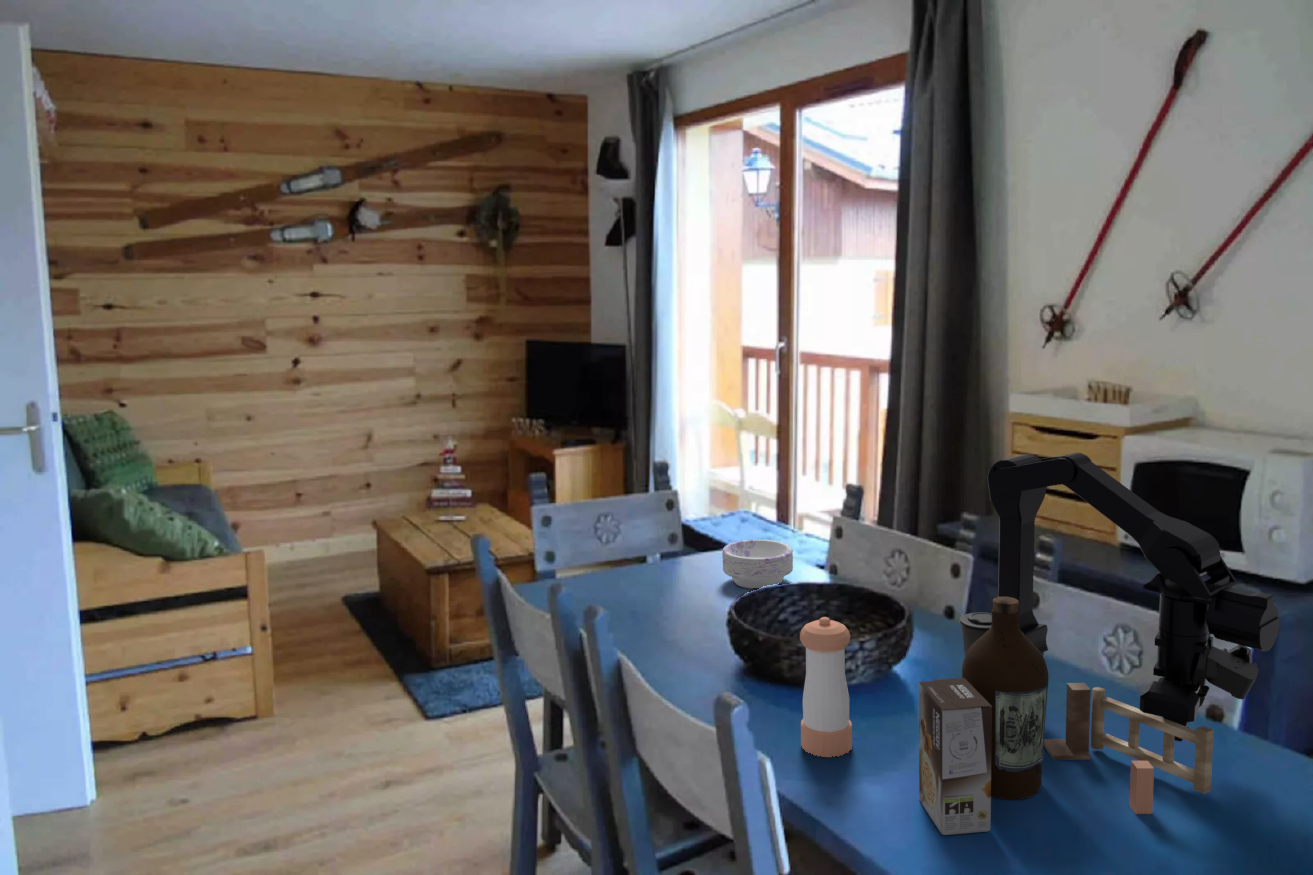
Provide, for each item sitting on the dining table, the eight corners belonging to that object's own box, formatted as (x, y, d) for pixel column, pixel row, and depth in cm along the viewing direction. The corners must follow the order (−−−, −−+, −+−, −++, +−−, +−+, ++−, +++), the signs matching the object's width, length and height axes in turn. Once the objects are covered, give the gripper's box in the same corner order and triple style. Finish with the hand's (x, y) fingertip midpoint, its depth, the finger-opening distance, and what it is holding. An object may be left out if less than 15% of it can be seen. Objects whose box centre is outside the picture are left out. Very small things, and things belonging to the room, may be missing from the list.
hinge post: (1052, 759, 142) (1054, 694, 141) (1042, 743, 147) (1043, 679, 146) (1091, 759, 142) (1093, 693, 140) (1080, 742, 147) (1081, 679, 145)
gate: (1088, 746, 144) (1089, 689, 143) (1095, 743, 145) (1097, 686, 144) (1203, 795, 130) (1206, 732, 129) (1211, 792, 131) (1214, 729, 130)
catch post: (1135, 814, 128) (1137, 768, 127) (1129, 805, 130) (1131, 760, 129) (1152, 814, 128) (1154, 768, 127) (1145, 805, 130) (1147, 760, 129)
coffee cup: (955, 680, 170) (955, 621, 169) (960, 662, 178) (960, 606, 176) (1007, 685, 167) (1008, 626, 166) (1010, 667, 175) (1011, 610, 173)
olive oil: (946, 770, 141) (947, 592, 137) (1016, 759, 143) (1019, 584, 139) (988, 808, 130) (990, 617, 126) (1063, 796, 133) (1067, 608, 129)
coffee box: (993, 832, 125) (994, 706, 123) (941, 836, 125) (941, 710, 122) (964, 794, 134) (965, 676, 132) (916, 798, 134) (916, 680, 131)
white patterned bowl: (783, 596, 217) (783, 559, 216) (714, 591, 222) (713, 555, 221) (800, 575, 231) (799, 540, 230) (734, 571, 236) (733, 537, 235)
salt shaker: (855, 737, 151) (854, 611, 148) (848, 760, 145) (846, 628, 142) (806, 732, 154) (804, 607, 151) (796, 754, 147) (793, 624, 144)
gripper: (1244, 668, 121) (1236, 789, 124) (1264, 615, 136) (1257, 725, 139) (1141, 649, 128) (1136, 765, 131) (1171, 601, 143) (1166, 706, 146)
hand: (1177, 740), depth 137 cm, fingers closed
